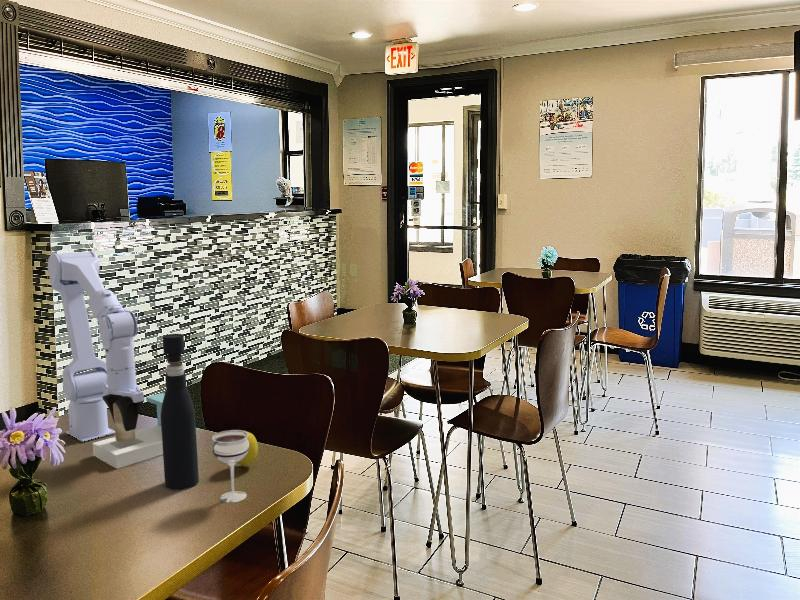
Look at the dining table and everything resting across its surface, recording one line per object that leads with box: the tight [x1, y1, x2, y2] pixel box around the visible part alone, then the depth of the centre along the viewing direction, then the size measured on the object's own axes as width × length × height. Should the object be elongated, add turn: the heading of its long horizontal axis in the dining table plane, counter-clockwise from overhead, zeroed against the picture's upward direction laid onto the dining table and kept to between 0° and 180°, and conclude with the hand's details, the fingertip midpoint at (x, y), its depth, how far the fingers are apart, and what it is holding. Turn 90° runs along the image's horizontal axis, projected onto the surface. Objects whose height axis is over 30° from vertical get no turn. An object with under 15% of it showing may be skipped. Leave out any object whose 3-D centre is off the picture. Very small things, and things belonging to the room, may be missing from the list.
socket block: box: [92, 392, 165, 470], centre depth 148 cm, size 11×17×10 cm, turn 139°
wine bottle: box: [161, 333, 200, 491], centre depth 129 cm, size 6×6×30 cm
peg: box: [113, 403, 136, 442], centre depth 145 cm, size 4×4×8 cm
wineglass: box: [211, 429, 249, 504], centre depth 125 cm, size 7×7×12 cm
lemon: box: [236, 430, 259, 468], centre depth 139 cm, size 6×6×8 cm
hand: (125, 427), depth 145 cm, fingers closed on peg, 4 cm apart
